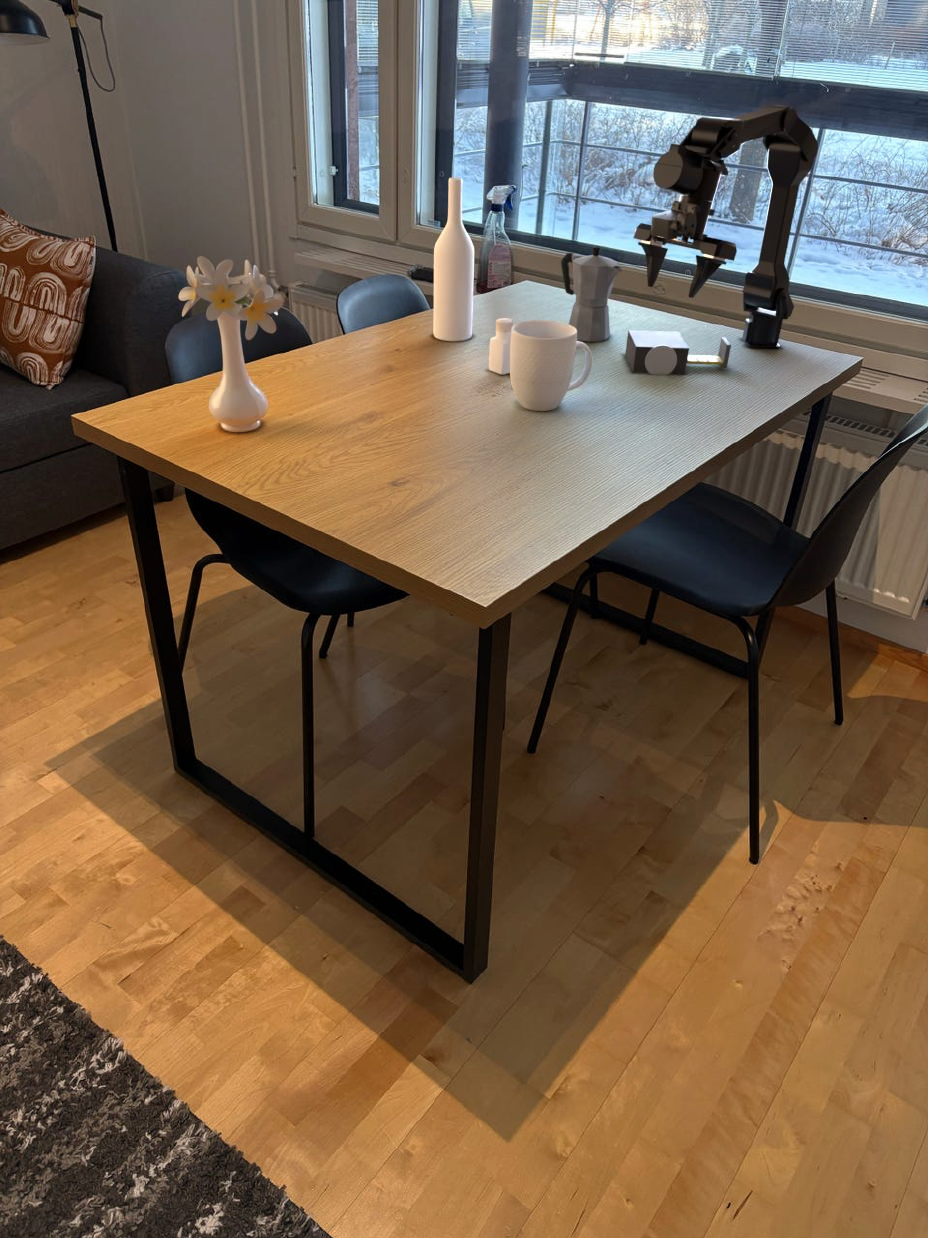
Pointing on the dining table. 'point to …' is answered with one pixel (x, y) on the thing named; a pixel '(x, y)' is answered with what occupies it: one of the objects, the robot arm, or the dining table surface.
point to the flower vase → (234, 336)
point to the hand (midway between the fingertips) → (670, 291)
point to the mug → (544, 363)
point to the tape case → (656, 352)
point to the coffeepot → (590, 293)
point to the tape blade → (719, 359)
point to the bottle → (453, 274)
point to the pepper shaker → (501, 347)
